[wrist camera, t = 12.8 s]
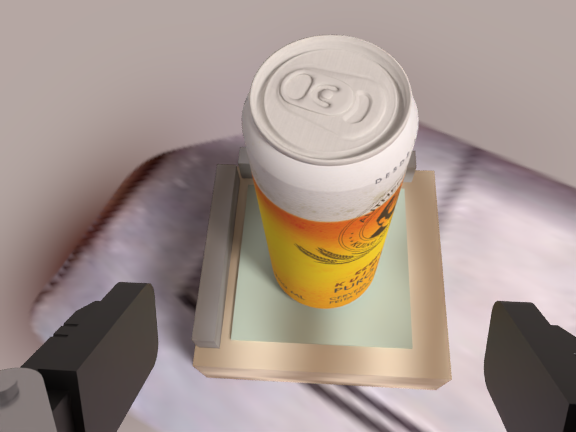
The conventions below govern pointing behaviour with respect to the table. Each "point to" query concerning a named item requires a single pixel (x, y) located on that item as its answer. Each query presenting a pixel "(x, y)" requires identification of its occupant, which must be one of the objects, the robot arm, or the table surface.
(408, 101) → the beer can
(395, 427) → the table surface
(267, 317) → the square tray
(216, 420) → the table surface
